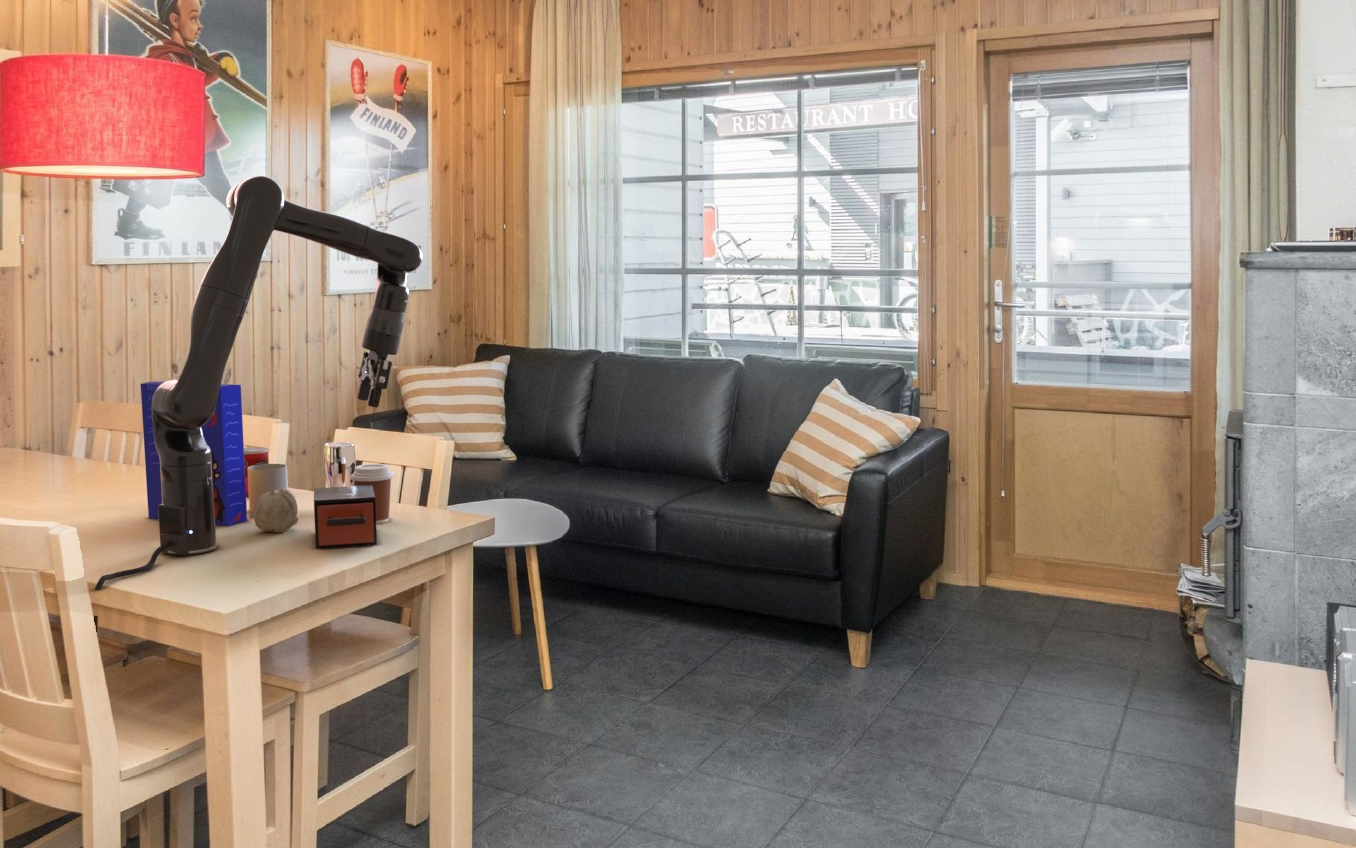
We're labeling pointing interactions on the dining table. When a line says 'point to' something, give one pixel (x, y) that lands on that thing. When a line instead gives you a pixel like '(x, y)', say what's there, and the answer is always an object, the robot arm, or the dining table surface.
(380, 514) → the coffee cup
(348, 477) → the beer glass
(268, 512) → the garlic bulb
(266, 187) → the robot arm
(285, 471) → the cup
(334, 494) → the box
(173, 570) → the dining table surface
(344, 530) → the brown drawer box
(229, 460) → the cereal box
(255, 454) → the canned food
